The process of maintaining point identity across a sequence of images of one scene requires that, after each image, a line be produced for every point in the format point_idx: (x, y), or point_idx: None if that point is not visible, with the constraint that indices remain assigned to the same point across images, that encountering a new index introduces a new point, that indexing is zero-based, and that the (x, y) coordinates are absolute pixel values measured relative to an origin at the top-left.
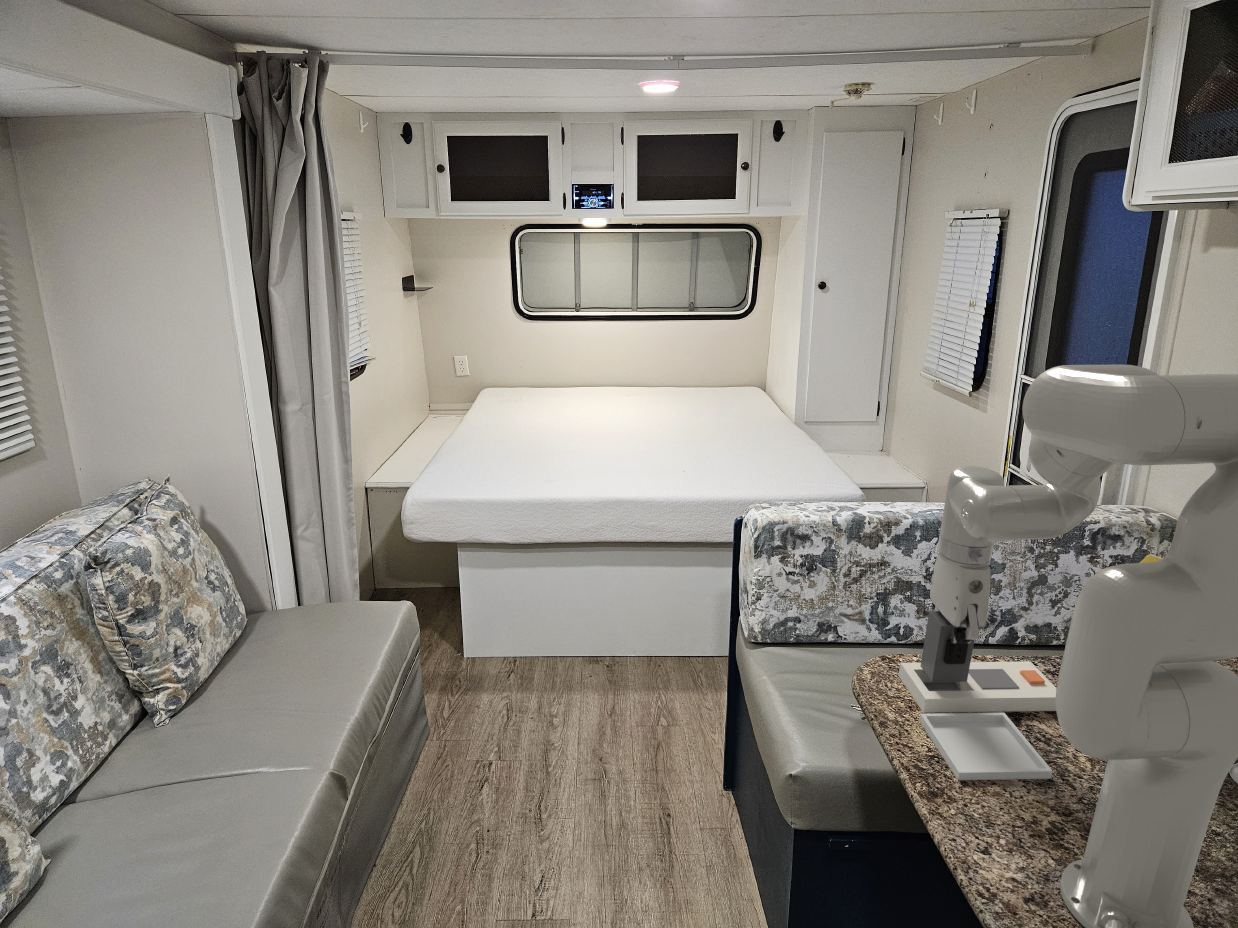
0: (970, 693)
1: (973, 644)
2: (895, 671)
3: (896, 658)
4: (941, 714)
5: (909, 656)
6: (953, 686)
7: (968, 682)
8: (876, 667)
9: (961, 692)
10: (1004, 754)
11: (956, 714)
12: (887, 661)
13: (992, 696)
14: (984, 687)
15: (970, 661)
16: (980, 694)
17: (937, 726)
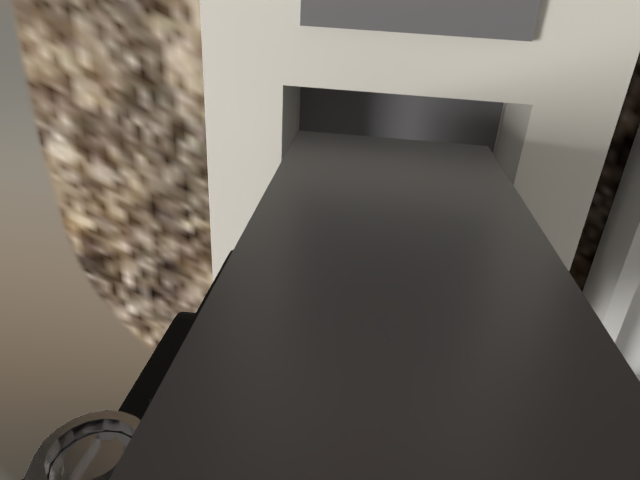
0: (556, 147)
1: (595, 315)
2: (184, 285)
3: (76, 235)
4: (609, 330)
5: (48, 168)
6: (342, 102)
7: (439, 90)
8: (158, 341)
9: (528, 192)
10: None
11: (633, 265)
12: (107, 282)
13: (630, 10)
14: (531, 18)
15: (527, 208)
16: (584, 87)
17: (623, 335)
